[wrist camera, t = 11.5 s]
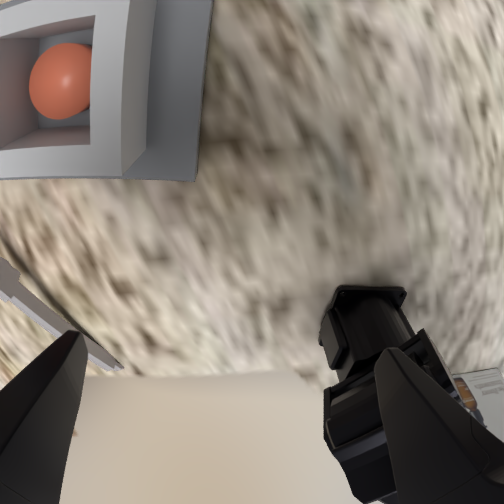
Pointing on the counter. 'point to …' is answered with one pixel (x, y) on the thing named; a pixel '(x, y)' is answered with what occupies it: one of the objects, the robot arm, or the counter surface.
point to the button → (62, 80)
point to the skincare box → (484, 398)
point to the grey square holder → (107, 89)
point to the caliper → (46, 314)
